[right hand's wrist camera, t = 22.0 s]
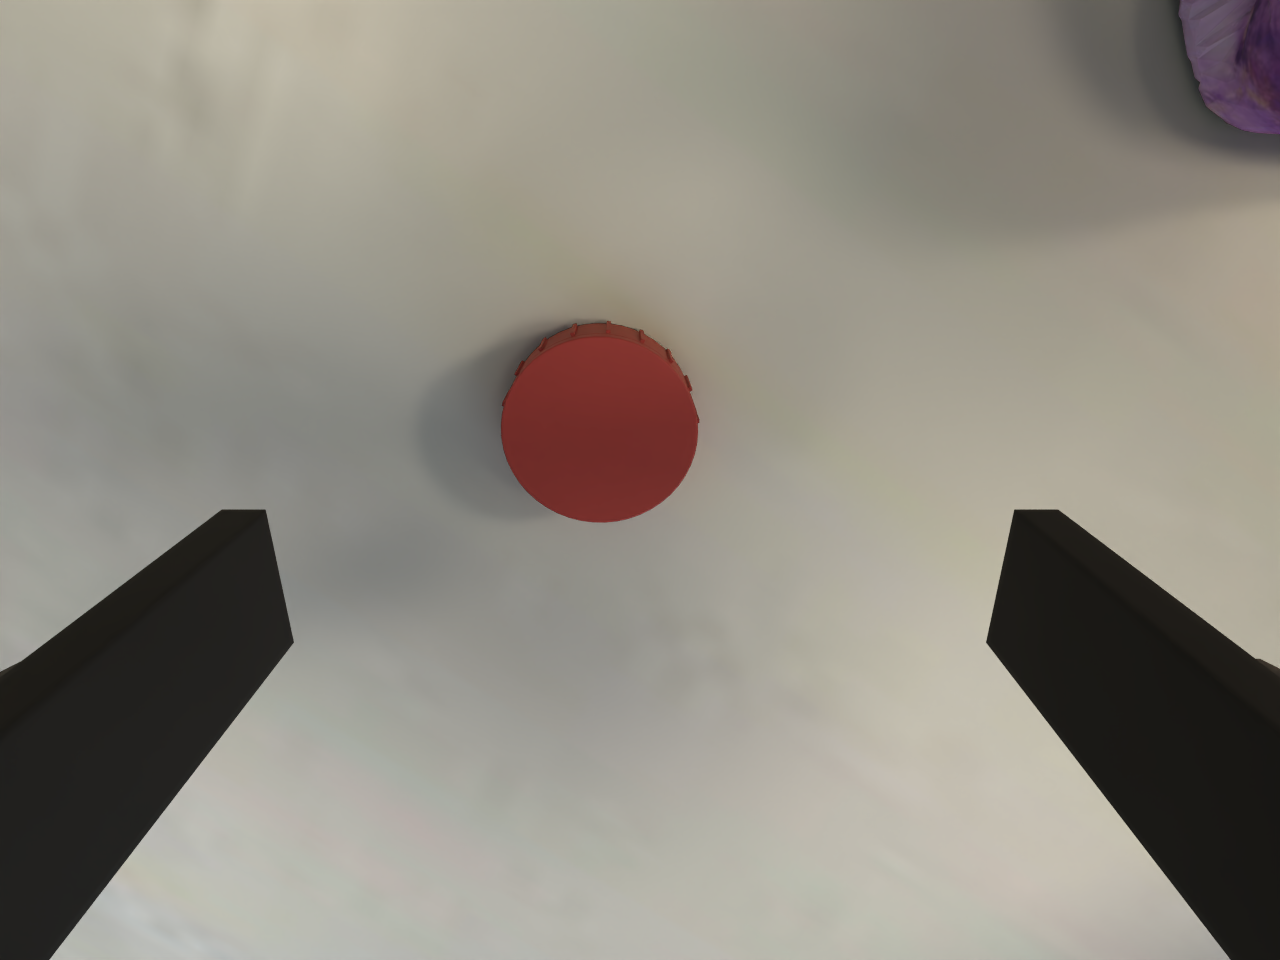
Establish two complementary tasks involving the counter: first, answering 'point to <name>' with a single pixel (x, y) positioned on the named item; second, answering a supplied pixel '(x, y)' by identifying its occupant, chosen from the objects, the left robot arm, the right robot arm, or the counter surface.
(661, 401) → the lid
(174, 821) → the counter surface
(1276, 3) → the figurine
